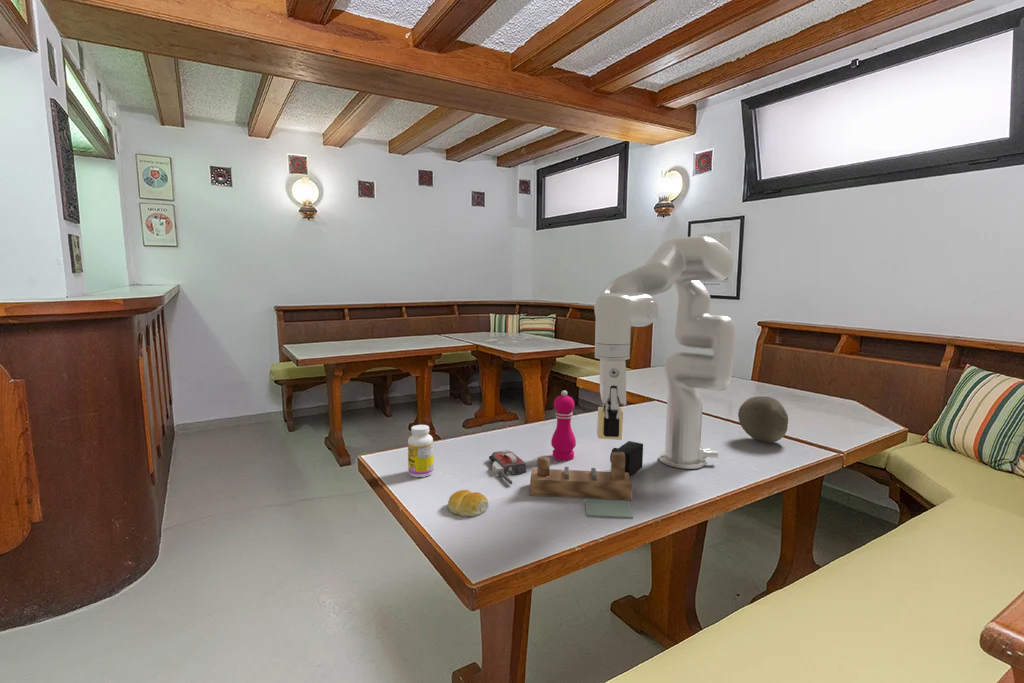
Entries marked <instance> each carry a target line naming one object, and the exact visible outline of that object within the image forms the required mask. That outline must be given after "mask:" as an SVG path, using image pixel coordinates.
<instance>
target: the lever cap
mask: <svg viewBox="0 0 1024 683" xmlns="http://www.w3.org/2000/svg"><path fill="white" fill-rule="evenodd" d="M609 408H610V407H608V410H609ZM605 414H606V407H603V406H598V408H597V423H596V426H597V427H596V434H597V438H598V440H599V439H602V440H618V441H622V438H623V423H624V420H623V419H624V412H623V410H622V408H621V407H619V436H618V437H605V436H604V418H606V417H605Z"/></svg>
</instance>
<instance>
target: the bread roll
mask: <svg viewBox="0 0 1024 683" xmlns="http://www.w3.org/2000/svg"><path fill="white" fill-rule="evenodd" d="M488 501H489V500H488V498H487V497H486V496H485V495H484V494H482V493H480V492H478V491H477V492H476V491H475V492H472V491H471V490H469V489H460V490H458V491H455V492H454V493H452V494H451V495H450V496H449V498H448V502H447V507H448V511H449V512H450V511H451V512H450V513H452V512H453V513H454V515H459V516H461V515H462V516H461V517H464V516H472V517H477V516H479V514H480V515H481V514H483V513H485V512H486V511H487V510H488V508H489V502H488ZM484 511H485V512H484ZM453 513H452V514H453ZM476 515H477V516H476Z"/></svg>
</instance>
